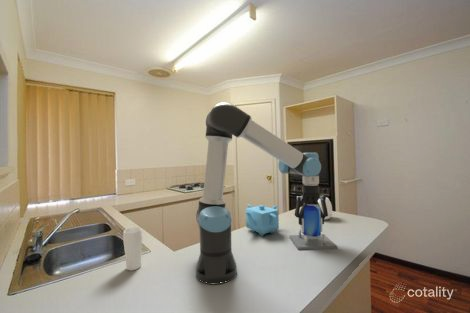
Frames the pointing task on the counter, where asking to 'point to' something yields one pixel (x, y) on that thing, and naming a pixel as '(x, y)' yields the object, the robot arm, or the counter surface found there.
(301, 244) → the pegboard
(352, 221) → the counter surface
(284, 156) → the robot arm
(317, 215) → the beer can
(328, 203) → the cup
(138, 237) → the white cylinder
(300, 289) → the counter surface
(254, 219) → the teakettle
